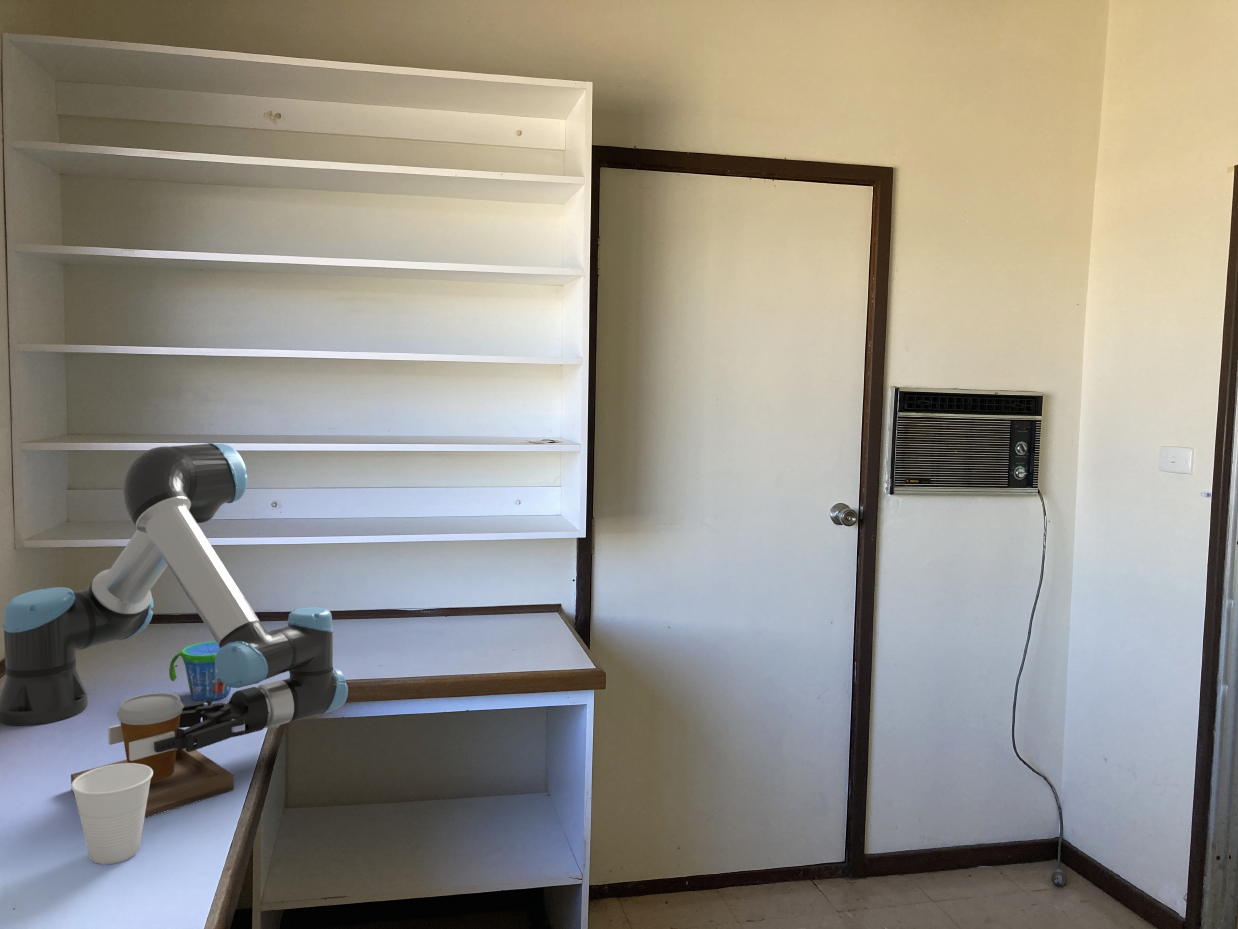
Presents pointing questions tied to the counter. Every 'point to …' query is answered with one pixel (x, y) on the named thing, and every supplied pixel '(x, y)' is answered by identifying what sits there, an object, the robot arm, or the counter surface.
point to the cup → (113, 809)
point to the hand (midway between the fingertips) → (119, 743)
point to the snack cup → (201, 671)
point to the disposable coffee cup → (151, 727)
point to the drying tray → (184, 782)
